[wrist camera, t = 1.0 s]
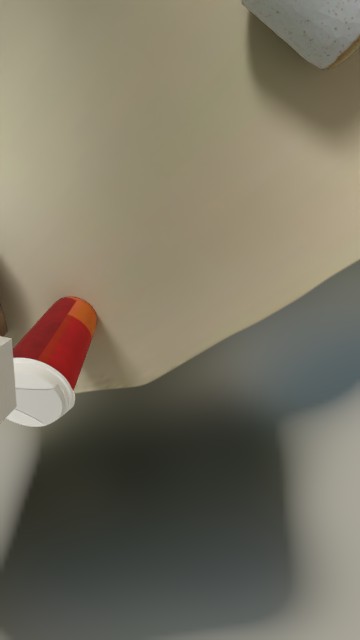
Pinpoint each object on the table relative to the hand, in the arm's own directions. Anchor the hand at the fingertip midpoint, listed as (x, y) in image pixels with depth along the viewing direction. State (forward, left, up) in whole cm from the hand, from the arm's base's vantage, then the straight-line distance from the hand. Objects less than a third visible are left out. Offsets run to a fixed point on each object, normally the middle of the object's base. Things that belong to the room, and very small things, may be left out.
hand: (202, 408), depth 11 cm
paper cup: (+14, -14, -27) cm, 33 cm away
